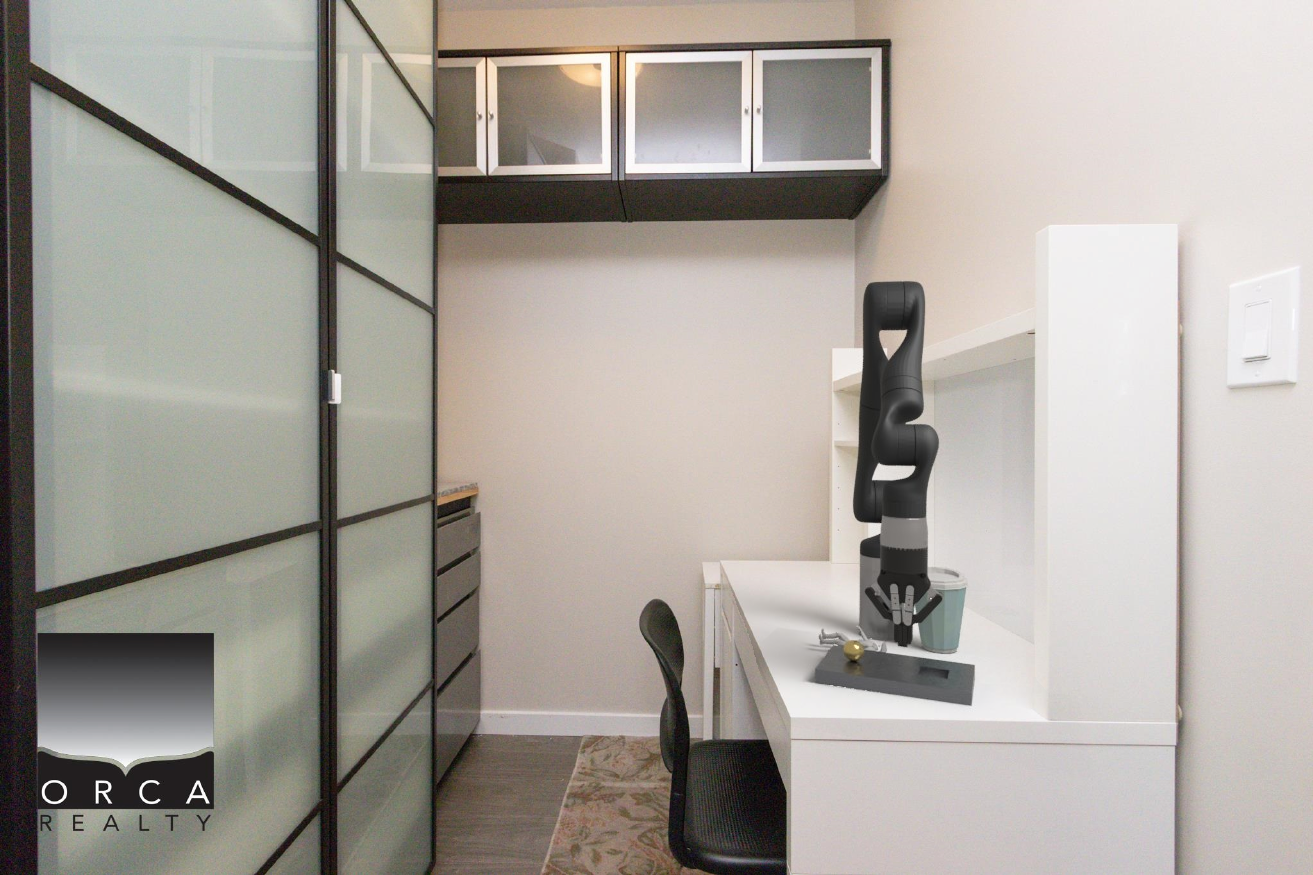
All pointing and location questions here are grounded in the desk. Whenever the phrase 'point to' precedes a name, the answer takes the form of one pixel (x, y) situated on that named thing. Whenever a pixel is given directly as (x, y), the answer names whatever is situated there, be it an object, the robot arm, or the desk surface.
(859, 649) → the brass knob
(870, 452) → the robot arm
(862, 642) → the soldier figure
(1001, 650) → the desk surface
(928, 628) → the disposable coffee cup
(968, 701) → the bore plate
